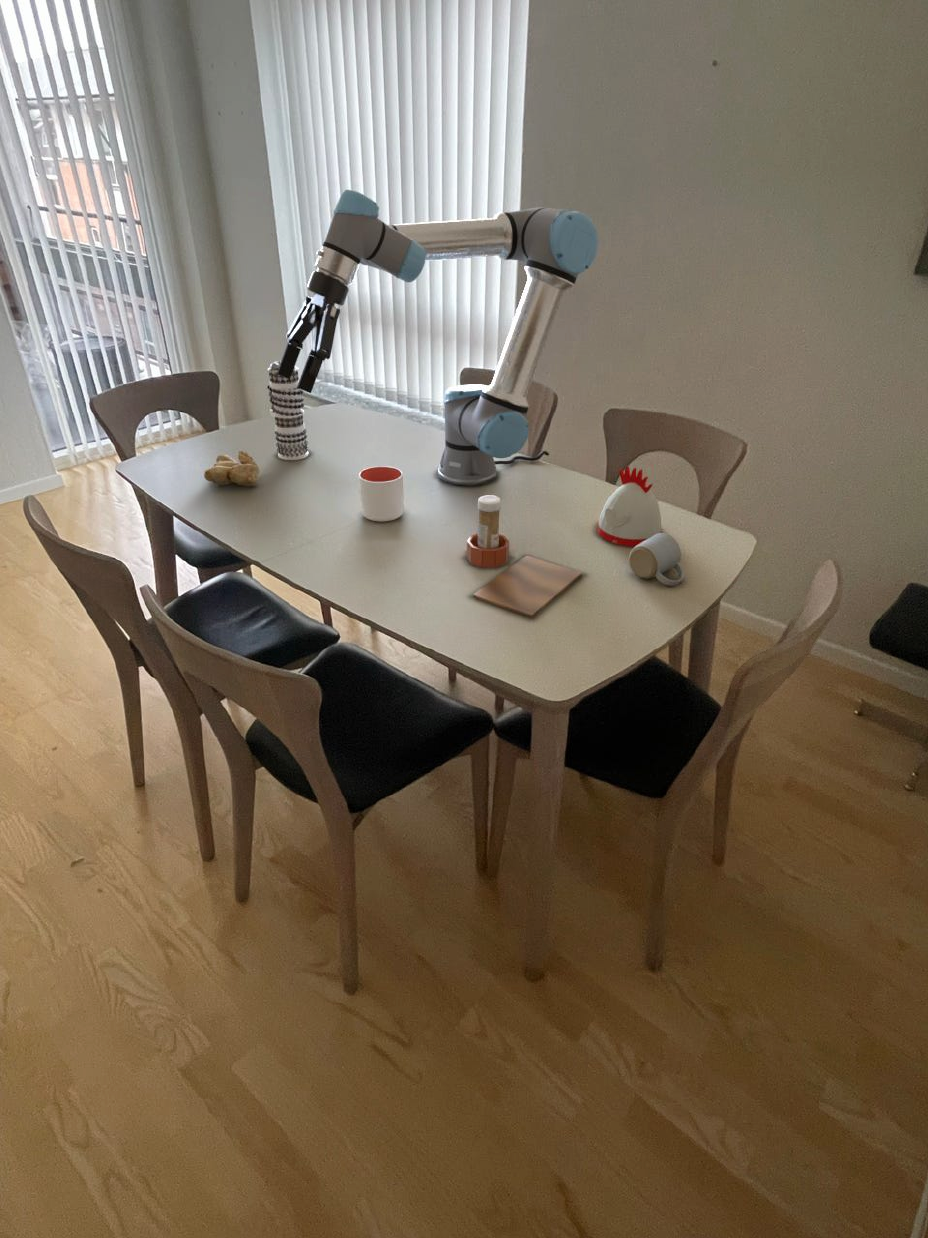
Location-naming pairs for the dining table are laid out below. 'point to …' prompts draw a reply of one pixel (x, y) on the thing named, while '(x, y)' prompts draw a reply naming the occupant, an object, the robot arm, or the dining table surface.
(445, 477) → the robot arm
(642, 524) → the kitchen timer
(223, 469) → the ginger root
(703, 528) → the dining table surface
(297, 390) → the patterned tall cylinder
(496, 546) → the sprinkles bottle
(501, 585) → the wooden board
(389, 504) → the cup
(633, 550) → the ceramic mug
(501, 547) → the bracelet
